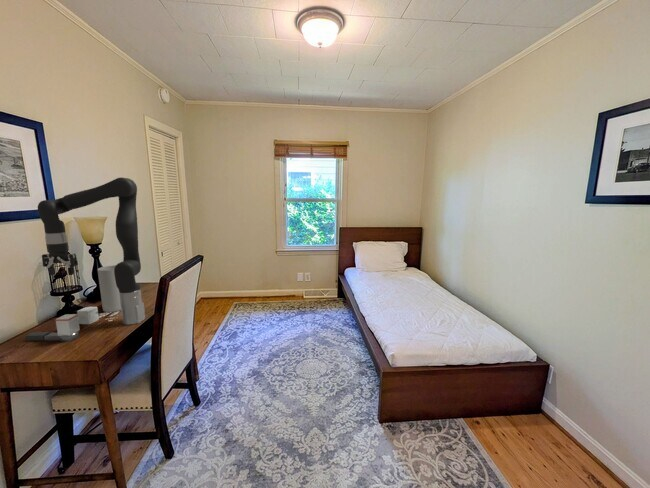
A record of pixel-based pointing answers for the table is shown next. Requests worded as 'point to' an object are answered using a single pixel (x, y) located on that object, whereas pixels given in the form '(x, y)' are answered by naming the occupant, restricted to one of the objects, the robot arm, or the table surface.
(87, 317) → the skincare box
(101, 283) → the cylinder vase
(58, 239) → the robot arm
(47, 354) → the table surface
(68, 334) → the white rectangular block
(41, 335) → the ratchet
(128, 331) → the table surface
